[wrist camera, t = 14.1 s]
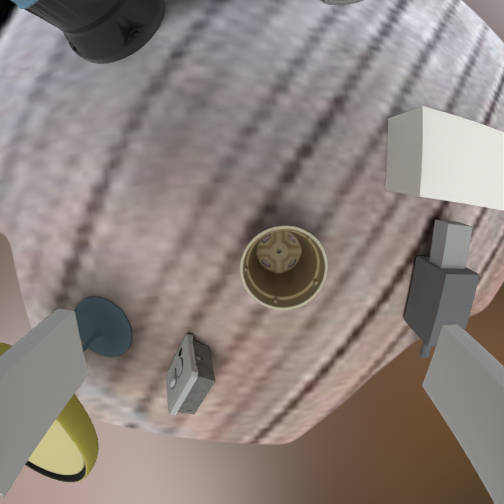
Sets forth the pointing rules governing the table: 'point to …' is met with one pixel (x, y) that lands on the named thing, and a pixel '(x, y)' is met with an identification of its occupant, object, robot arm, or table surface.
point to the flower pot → (284, 268)
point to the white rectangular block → (445, 158)
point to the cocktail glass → (74, 415)
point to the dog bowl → (341, 2)
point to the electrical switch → (189, 377)
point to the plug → (442, 284)
